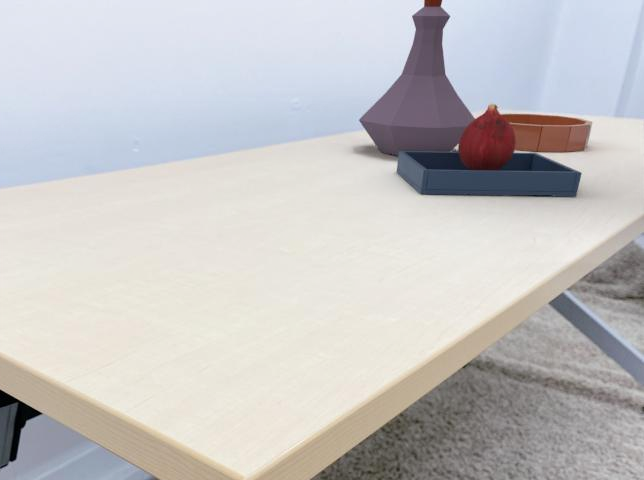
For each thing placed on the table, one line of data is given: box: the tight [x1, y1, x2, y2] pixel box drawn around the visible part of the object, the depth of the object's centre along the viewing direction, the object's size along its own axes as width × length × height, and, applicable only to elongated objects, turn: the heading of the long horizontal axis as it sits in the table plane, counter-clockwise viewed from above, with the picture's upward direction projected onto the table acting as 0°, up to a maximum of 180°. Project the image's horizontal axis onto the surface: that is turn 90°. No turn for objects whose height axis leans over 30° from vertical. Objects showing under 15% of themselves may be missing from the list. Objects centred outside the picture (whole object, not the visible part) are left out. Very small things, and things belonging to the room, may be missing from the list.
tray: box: [396, 151, 582, 198], centre depth 79 cm, size 16×12×2 cm
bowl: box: [500, 113, 593, 153], centre depth 105 cm, size 15×15×4 cm
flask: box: [358, 0, 476, 157], centre depth 94 cm, size 16×16×20 cm
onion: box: [457, 103, 516, 171], centre depth 77 cm, size 6×6×8 cm
